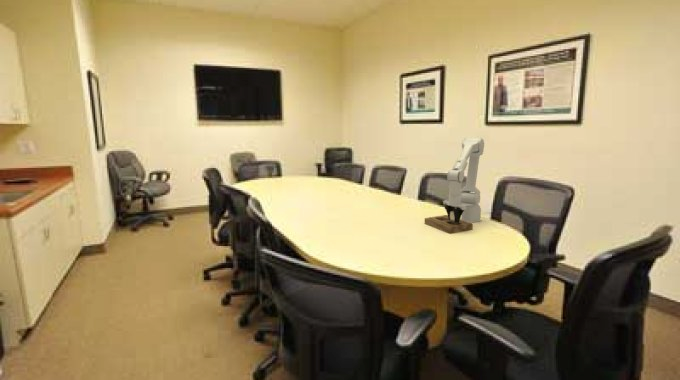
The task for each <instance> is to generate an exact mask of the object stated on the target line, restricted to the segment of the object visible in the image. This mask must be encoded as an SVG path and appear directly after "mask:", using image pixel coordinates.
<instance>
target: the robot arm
mask: <svg viewBox="0 0 680 380" xmlns="http://www.w3.org/2000/svg"><path fill="white" fill-rule="evenodd" d="M484 141H485V140H484V138H483V137H479V138H478V137H474V138H473V137H464V138H462V141H461V148H462V149H461V154H460V156H459V158H457V159H456V160H455V162H454V164H453V167H452V169H450V170H448V172H447V175H446V179H447V185H448V199H446V200H443V201H442V202H443V205H445V206H444V209H445V211H446V213H447V214H446V215H448V218H449V220H450V211H451V210H453V211H454V216H455V222H456V223H457V222H459V221H460V220H463V221H466V222H469V223H472V224H474V223H479V222H482V219H481V218H482V217H481V215H482V209H481V206H480V205H479V204H480V203H481V191H480V189H478V188H477V187H476V185H477V177H478V170H479V163H480V157H481V156H482V155H483V154H484V148H485V142H484ZM467 161H468V162H467ZM467 167H468V168H467ZM466 169H467V173H466V175H467V176H466V180H465V186H463V187H462V182H463V181H464V177H465V170H466Z"/></svg>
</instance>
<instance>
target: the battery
mask: <svg viewBox="0 0 680 380" xmlns="http://www.w3.org/2000/svg"><path fill="white" fill-rule="evenodd" d="M450 224H452V225H457V224H458V222H457V223H456V222H455V216H454V211H453V210H451V211H450Z"/></svg>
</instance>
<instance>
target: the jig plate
mask: <svg viewBox="0 0 680 380" xmlns="http://www.w3.org/2000/svg"><path fill="white" fill-rule="evenodd" d="M424 224H425V225H427V226H430V227H432V228H435V229H437V230H439V231H442V232H445V233H447V234H449V235H450V234H457V233H460V232H462V233H463V232H466V231H473V226H474V223H469V222H466V221H463V220H460V221H459V222H458V224H457V225H452V224H450V220H449V218H448V214H445V215H444V214H443V215H438V216H437V215H436V216H429V217H425V218H424Z"/></svg>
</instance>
